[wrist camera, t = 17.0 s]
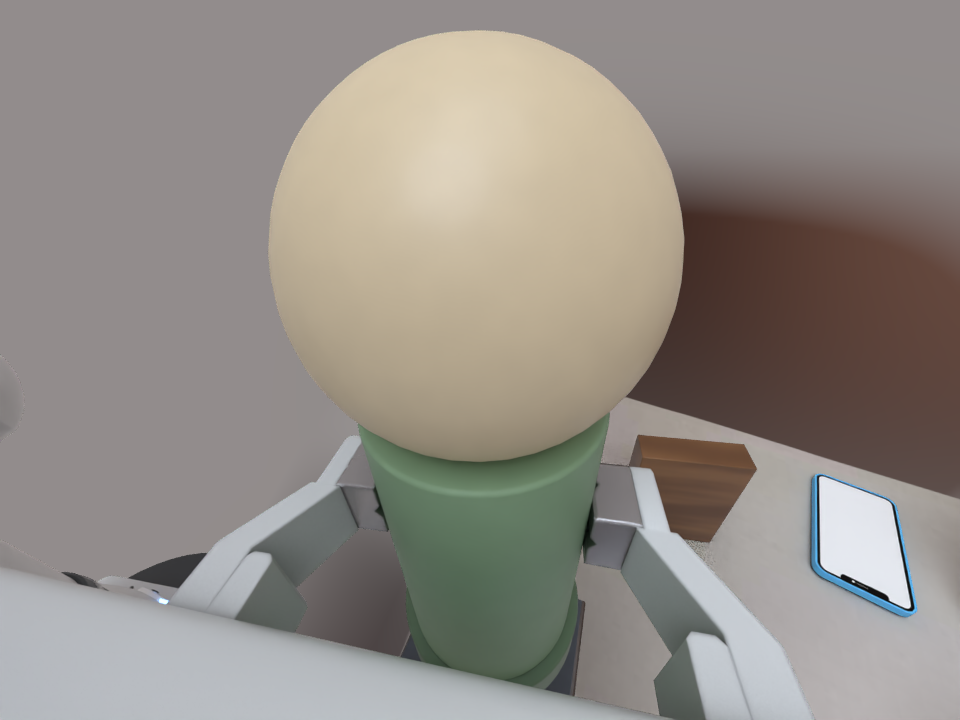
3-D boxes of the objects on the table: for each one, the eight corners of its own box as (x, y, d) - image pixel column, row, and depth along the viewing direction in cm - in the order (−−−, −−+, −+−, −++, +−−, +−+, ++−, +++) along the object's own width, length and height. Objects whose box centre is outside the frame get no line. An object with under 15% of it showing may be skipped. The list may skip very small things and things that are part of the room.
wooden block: (709, 543, 40) (757, 469, 32) (619, 530, 42) (642, 457, 34) (701, 518, 43) (744, 444, 34) (616, 507, 45) (637, 434, 36)
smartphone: (895, 500, 42) (919, 618, 32) (889, 506, 42) (911, 623, 33) (814, 470, 46) (815, 568, 36) (810, 476, 46) (809, 573, 37)
